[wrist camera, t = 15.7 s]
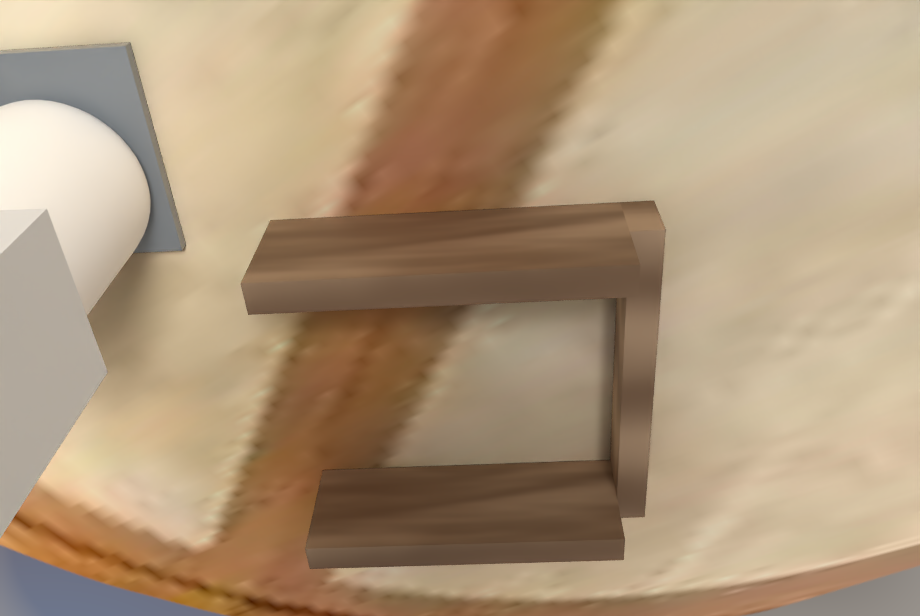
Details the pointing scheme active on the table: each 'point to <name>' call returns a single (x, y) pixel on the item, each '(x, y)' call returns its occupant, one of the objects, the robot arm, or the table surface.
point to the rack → (465, 283)
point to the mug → (75, 187)
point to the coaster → (100, 113)
